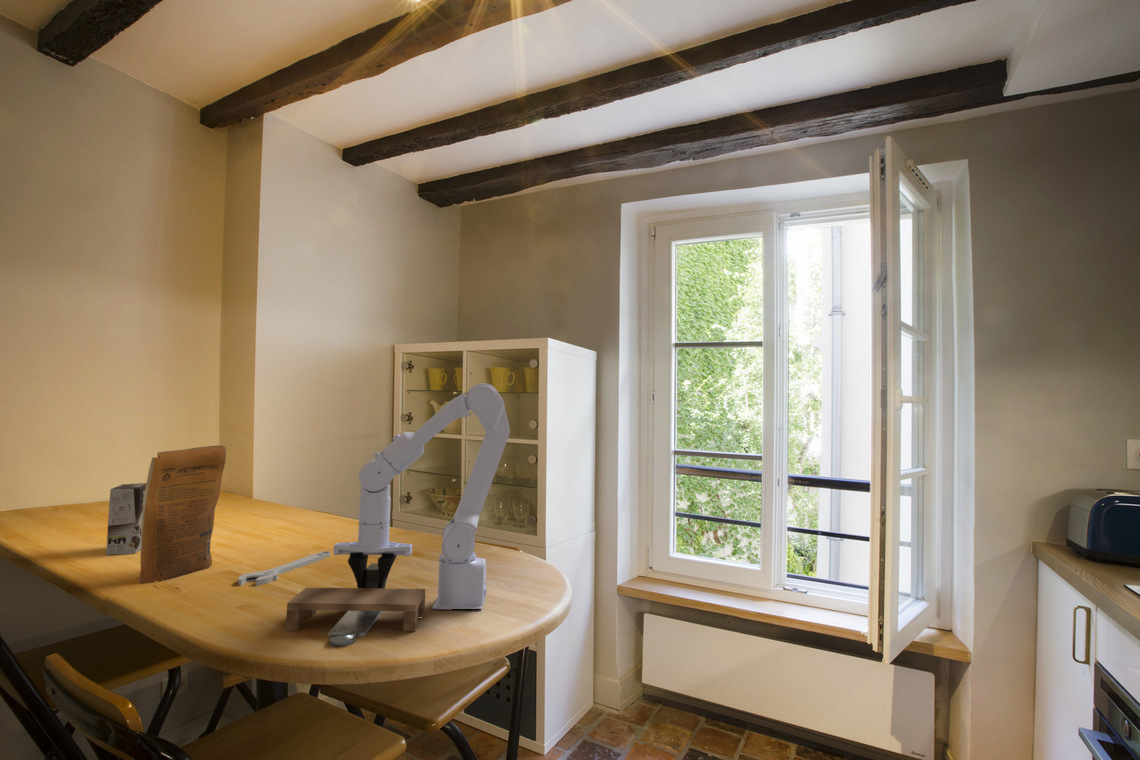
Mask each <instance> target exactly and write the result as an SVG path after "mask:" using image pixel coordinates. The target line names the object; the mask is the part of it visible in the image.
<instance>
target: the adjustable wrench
mask: <svg viewBox="0 0 1140 760" xmlns="http://www.w3.org/2000/svg"><path fill="white" fill-rule="evenodd" d="M326 557H328V558H331V552H330V551H329V550H328V551H325V550H324V551H320V552H316V553H314V554H311V555H308V556H304V557H302V558H299V559H296V560H293V561H290V562H288V563H286V564H282V565H278V566H276V567H274V568H269V569H265V570H261V571H260V570H259V571H254V572H253V571H252V572H247V573H245V574H241V575H239V576H238V579H237V585H238V586H243V585H245V584H246V583H249V582H250V583H251V582H255V584H254V586H255V587H256V586H257V587H258V586H262V585H263V584H264V585H267V584H270V583H272V582H271V581H273V582H275V581H274V580H276V581H277V580H278V579H279V576H280V575H279V574H281V575H283V574H282V573H284V572H287V571H290V570H292V571H294V570H293V569H295V568H298V569H300V568H299V567H301V568H303V567H305V565H306V566H309V565H311V563H312V564H314V562H315V563H317V562H319V560H320V561H322V560H321V559H323V560H325V559H324V558H326ZM326 559H327V558H326ZM316 561H317V562H316ZM308 564H309V565H308ZM302 566H303V567H302ZM295 570H296V569H295ZM290 572H291V571H290ZM287 573H288V572H287ZM284 574H285V573H284ZM277 575H279V576H277ZM269 582H270V583H269ZM266 583H267V584H266ZM264 585H263V586H264Z"/></svg>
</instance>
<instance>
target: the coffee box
mask: <svg viewBox="0 0 1140 760" xmlns="http://www.w3.org/2000/svg"><path fill="white" fill-rule="evenodd" d="M146 483H147V482H145V483H144V482H143V483H129V484H128V483H125V484H124V483H123V484H119V485H117V486H115V487H113V488H110V491H109V501H108V503H109V505H108V516H107V517H108V520H107V535H106V549H105V551H106V552H105V555H106V556H110V555H111V554H116V555H133V554H132V553H135V554H137V553H138V552H141V526H142V511H143V498H144V493H145V487H146Z"/></svg>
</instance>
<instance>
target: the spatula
mask: <svg viewBox="0 0 1140 760" xmlns="http://www.w3.org/2000/svg"><path fill="white" fill-rule="evenodd" d="M378 580H379V572H378V563H370V564H369V565H367V567H366V569H365V581H364V588H378ZM383 612H384V611H346V612H345V614H344V615H343V616H342V617H341V618H340V619H339V620H338V621H337V622H336V624H335V625H334V626H333V627H331V629H330V631H328V637H330V635H331V634H332V633H334V632H337V631H341V630H352V631H354V632H355V633H356V637H360V638H361V637H366V635H367V633H369V631H370V630H371V629H372V627H373V626H374V624H375V623H376V622H377V621H378V619H379V618H380V616H381V615H382V614H381V613H383ZM380 614H381V615H380ZM378 617H379V618H378ZM375 621H376V622H375Z"/></svg>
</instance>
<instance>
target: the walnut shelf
mask: <svg viewBox="0 0 1140 760" xmlns="http://www.w3.org/2000/svg"><path fill="white" fill-rule="evenodd" d="M425 609H426V588H385V589H383V588H358V587H309V586H308V587H305V588H304V589H303V590H301V591H300V592H299V593H297V594H296V595H295V596H293V598H291V599H290V600H289V601H288V602H287V603H286V616H285V617H286V618H285V619H286V620H285V631H287V632H288V631H290V632H291V631H292V632H294V631H297V632H298V631H299V630H300V629H301V628H303V623H304V618H313V617H314V616H315V615H316V614H317V611H341V612H342V611H343V612H344V611H346V612H348V611H383V612H403V629H402V630H403V632H404V631H415V630H417V629H418V627H417V626H419V625H418V624H419V623H418V622H419V618H418V617H424V616H425V614H424V613H425ZM423 615H424V616H423ZM416 628H417V629H416ZM415 632H416V631H415ZM404 633H405V632H404Z"/></svg>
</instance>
